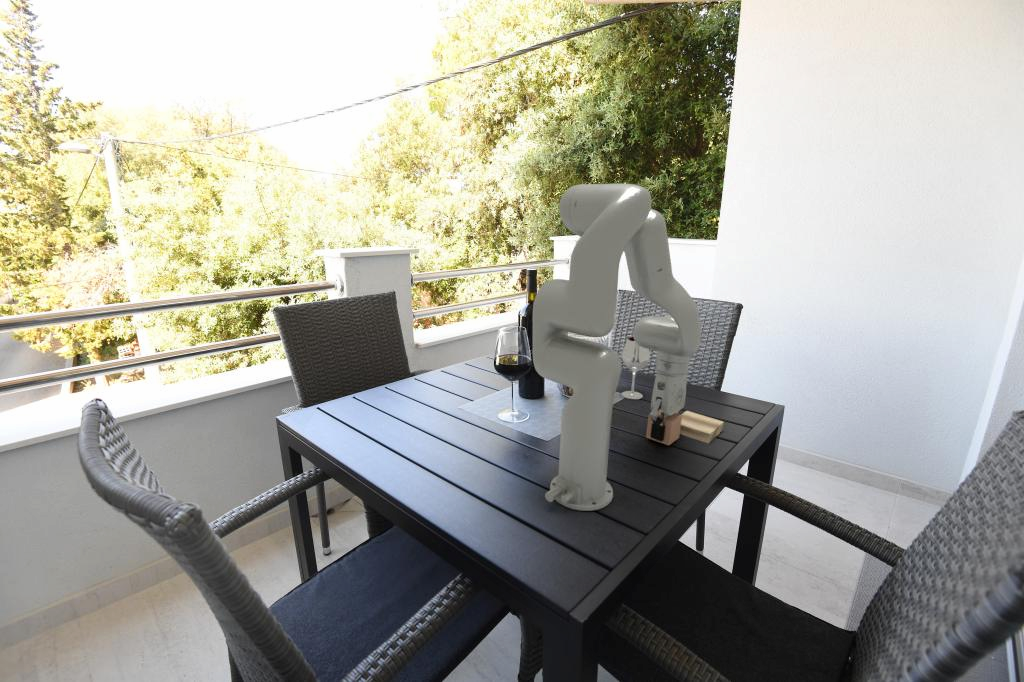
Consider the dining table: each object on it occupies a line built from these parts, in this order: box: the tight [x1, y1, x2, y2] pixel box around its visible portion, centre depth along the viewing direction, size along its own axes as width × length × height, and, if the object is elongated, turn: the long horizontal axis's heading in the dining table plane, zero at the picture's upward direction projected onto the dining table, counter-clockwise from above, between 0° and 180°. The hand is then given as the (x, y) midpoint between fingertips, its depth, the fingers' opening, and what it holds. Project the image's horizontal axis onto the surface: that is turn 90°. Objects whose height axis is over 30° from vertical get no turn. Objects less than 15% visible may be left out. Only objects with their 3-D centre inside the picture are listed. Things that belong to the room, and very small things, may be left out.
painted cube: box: [645, 410, 682, 446], centre depth 120 cm, size 6×6×6 cm
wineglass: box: [621, 336, 651, 400], centre depth 147 cm, size 8×8×18 cm
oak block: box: [680, 410, 725, 444], centre depth 126 cm, size 10×10×3 cm
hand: (662, 434), depth 120 cm, fingers closed on painted cube, 6 cm apart
